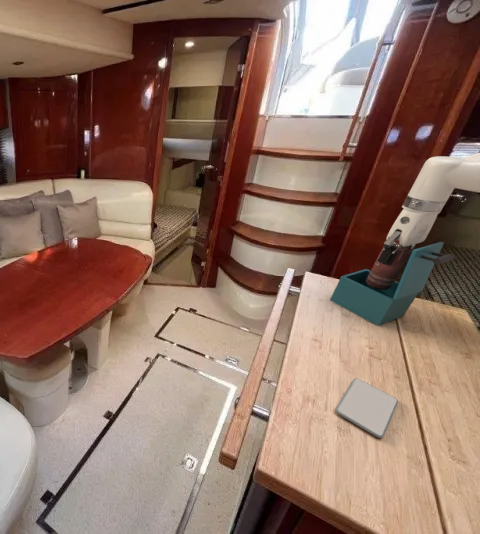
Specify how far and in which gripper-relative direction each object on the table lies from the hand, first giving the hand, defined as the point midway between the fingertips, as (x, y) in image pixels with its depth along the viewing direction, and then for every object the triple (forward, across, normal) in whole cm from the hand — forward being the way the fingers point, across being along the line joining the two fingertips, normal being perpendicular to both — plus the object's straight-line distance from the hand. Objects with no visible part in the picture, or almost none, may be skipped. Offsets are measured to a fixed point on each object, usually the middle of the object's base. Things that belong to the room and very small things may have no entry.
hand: (391, 260), depth 92 cm
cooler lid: (0, 0, -6) cm, 6 cm away
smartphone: (+18, -40, -24) cm, 50 cm away
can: (+9, 0, 0) cm, 9 cm away
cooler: (+18, 0, 0) cm, 18 cm away
